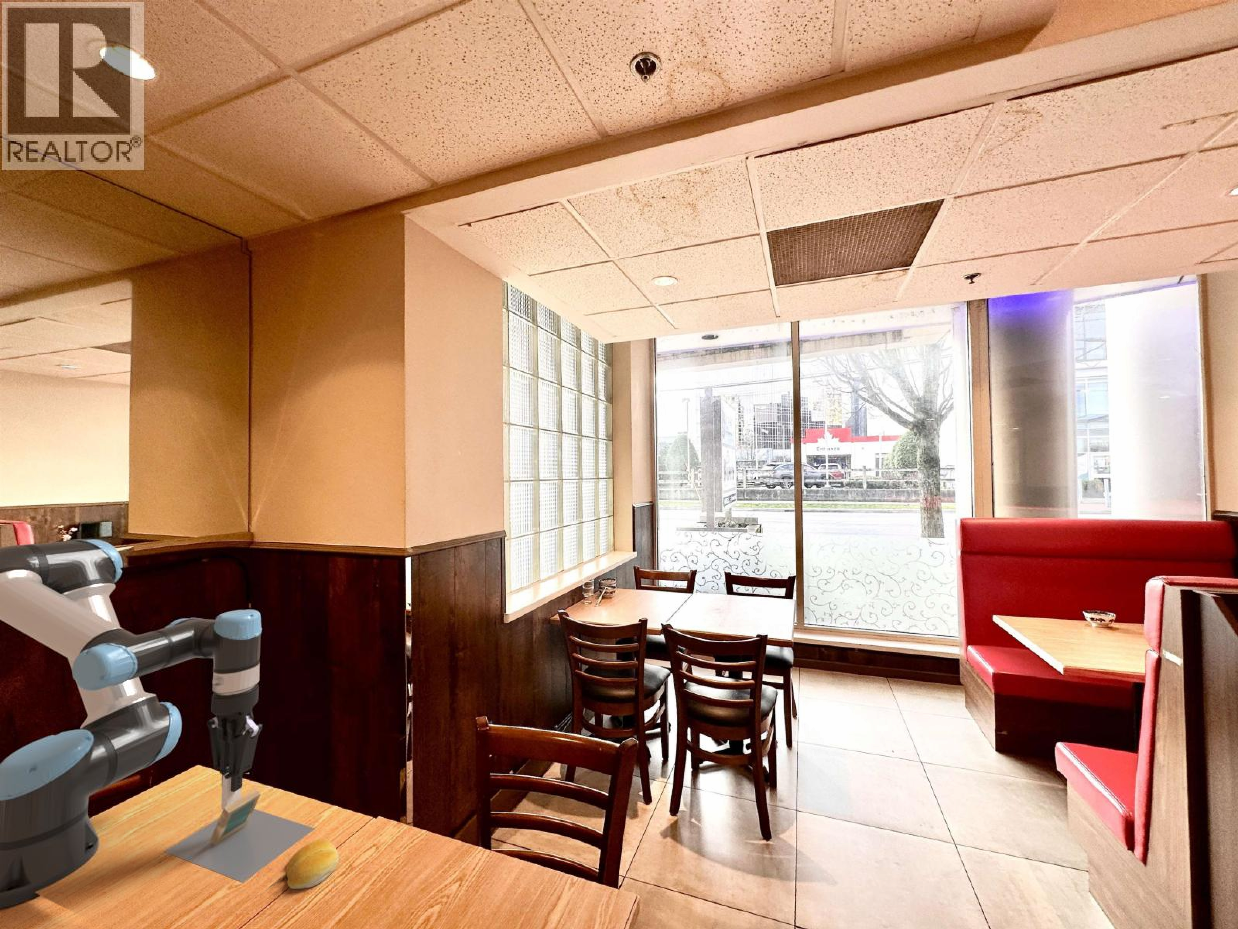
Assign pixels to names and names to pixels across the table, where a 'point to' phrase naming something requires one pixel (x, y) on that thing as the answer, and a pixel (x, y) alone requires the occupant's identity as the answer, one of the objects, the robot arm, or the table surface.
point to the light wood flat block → (234, 817)
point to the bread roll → (311, 864)
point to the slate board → (241, 845)
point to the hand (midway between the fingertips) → (231, 805)
